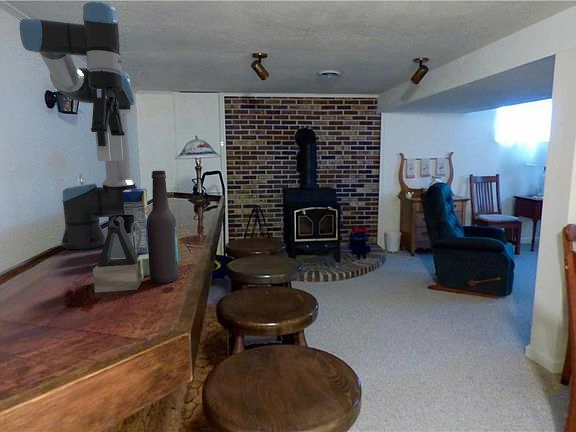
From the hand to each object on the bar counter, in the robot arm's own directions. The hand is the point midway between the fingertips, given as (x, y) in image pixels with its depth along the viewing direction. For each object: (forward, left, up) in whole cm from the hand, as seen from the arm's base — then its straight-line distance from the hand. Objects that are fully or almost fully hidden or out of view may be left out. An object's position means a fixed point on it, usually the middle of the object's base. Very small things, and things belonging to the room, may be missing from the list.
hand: (111, 160), depth 98 cm
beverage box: (-39, -2, -33) cm, 51 cm away
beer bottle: (-2, +11, -33) cm, 35 cm away
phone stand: (0, 0, -27) cm, 27 cm away
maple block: (0, 0, -33) cm, 33 cm away
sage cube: (-10, +6, -33) cm, 35 cm away
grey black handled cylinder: (-22, -2, -33) cm, 40 cm away
